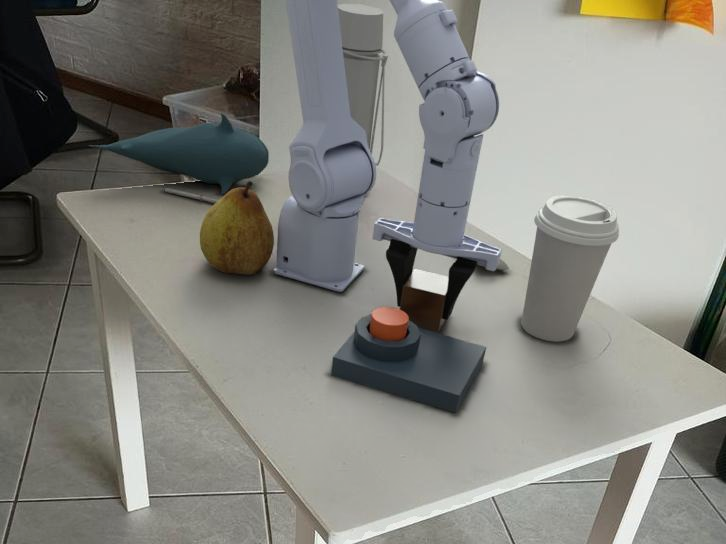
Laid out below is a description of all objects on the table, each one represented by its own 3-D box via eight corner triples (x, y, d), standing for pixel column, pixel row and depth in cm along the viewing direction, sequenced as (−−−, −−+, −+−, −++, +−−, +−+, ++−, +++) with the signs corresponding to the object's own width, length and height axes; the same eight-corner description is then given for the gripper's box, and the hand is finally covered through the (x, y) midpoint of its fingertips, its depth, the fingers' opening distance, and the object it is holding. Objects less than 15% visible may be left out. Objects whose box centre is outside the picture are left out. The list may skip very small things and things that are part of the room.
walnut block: (397, 324, 97) (403, 285, 94) (408, 305, 101) (414, 268, 98) (438, 334, 96) (445, 295, 93) (447, 315, 100) (454, 277, 97)
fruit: (204, 250, 107) (203, 156, 99) (274, 256, 108) (278, 164, 100) (195, 280, 100) (193, 182, 93) (270, 287, 101) (274, 191, 93)
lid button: (363, 335, 88) (365, 318, 86) (376, 320, 90) (379, 303, 89) (398, 346, 87) (401, 329, 85) (410, 329, 90) (413, 313, 88)
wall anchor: (217, 205, 118) (218, 198, 118) (164, 193, 120) (164, 186, 119) (220, 205, 119) (221, 198, 118) (167, 193, 121) (168, 186, 120)
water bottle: (312, 193, 126) (325, 8, 110) (328, 177, 132) (343, -1, 116) (369, 206, 124) (391, 21, 108) (383, 189, 130) (406, 11, 114)
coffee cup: (528, 350, 96) (561, 227, 87) (496, 310, 103) (525, 192, 93) (599, 346, 99) (640, 226, 89) (564, 307, 106) (599, 192, 96)
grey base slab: (330, 374, 88) (334, 342, 85) (367, 330, 96) (371, 299, 93) (455, 413, 85) (462, 380, 82) (482, 363, 93) (490, 332, 90)
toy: (278, 117, 119) (249, 117, 132) (92, 103, 109) (80, 104, 122) (276, 197, 124) (249, 189, 136) (97, 190, 114) (85, 182, 126)
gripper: (517, 201, 90) (491, 311, 99) (394, 171, 94) (379, 280, 102) (502, 223, 85) (476, 337, 94) (372, 190, 88) (359, 304, 97)
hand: (424, 309), depth 98 cm, fingers closed on walnut block, 5 cm apart
